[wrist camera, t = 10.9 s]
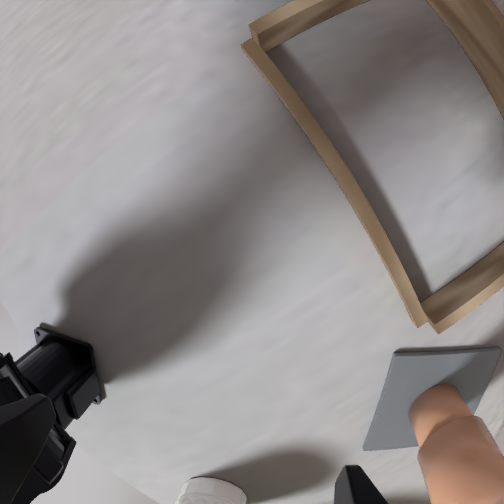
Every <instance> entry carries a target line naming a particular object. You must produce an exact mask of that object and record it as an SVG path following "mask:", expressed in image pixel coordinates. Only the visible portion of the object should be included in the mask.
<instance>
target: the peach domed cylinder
mask: <svg viewBox="0 0 504 504" xmlns="http://www.w3.org/2000/svg"><path fill="white" fill-rule="evenodd" d="M408 416H409V420H410V423H411V425H412V428H413V431H414V433H415V436H416V439H417V442H418V445H419V447H420V450H419V452H418V462H419V465H420V468H421V471H422V474H423V477H424V481H425V484H426V487H427V491H428V494H429V498H430V501H431V504H504V456H503V454H502V453H501V451H500V449H499V447H498V445H497V444H496V442H495V440H494V438H493V437H492V435H491V433H490V431H489V430H488V428H487V426H486V425H485V423H484V421H483V420H482V419H481V418H480V417H478V416H474V415H473V414H472V412H471V410H470V409H469V407H468V405H467V404H466V402H465V400H464V399H463V397H462V395H461V394H460V392H459V391H458V389H457V388H456V387H455V386H454V385H451V384H439V385H436V386H433V387H431V388H429V389H427V390H426V391H424V392H423V393H422V394H420V395H419V396H418V397H417V398H416V399H415V401H414V402H413V403H412V405H411V407H410V409H409V414H408Z"/></svg>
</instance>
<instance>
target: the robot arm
mask: <svg viewBox="0 0 504 504" xmlns="http://www.w3.org/2000/svg"><path fill="white" fill-rule="evenodd" d="M34 333H35V338H36V342H37V345H36V346H35V347H33V348H32V349H31V350H29V351H28V352H27V353H26V354H24V355H23V356H22V357H21V358H19V359H18V360H17V361H16V362H14V361H13V357H12V356H11V354H10V353H7V354H5V355H4V356H3V354H1V353H0V504H30V503H31V502H32V501H33V500H34V498H36V497H37V496H38V495H39V494H41V493H45V492H47V491H49V490H50V489H52V488H53V487H54V486H55V485H56V484H57V483H58V482H59V481H60V479H61V478H62V476H63V474H64V471H65V469H66V467H67V464H68V461H69V459H70V457H71V454H72V452H73V449H74V447H75V445H76V441H75V440H74V439H73V438H72V437H70V436H69V434H68V433H67V432H66V431H65V429H66V428H67V426H68V425H69V424H70V423H71V422H72V420H73V419H76V420H77V419H79V418H80V417H81V416H82V414H83V413H84V412H85V411H86V409H87V408H88V407H89V406H90V404H91V403H94V404H100V403H101V401H102V397H101V393H100V387H99V382H98V376H97V371H96V367H95V361H94V355H93V349H92V347H91V345H89V344H88V343H86V342H82V341H79V340H76V339H73V338H70V337H67V336H64V335H61V334H58V333H55V332H53V331H50V330H47V329H44V328H41V327H37V328H36V329H35V330H34ZM86 349H87V350H86ZM334 504H388V503H387V501H386V500H385V499H384V497H383V496H382V495H381V493H380V492H379V491H378V489H377V488H376V487H375V486H374V484H373V483H372V482H371V480H370V479H369V478H368V476H367V475H366V474H365V472H364V471H363V469H362V468H361V467H360V466H359V465H345V466H344V467H343V469H342V471H341V472H340V474H339V476H338V478H337V480H336V483H335V494H334Z"/></svg>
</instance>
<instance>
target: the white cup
mask: <svg viewBox="0 0 504 504" xmlns="http://www.w3.org/2000/svg"><path fill="white" fill-rule="evenodd" d="M246 499H247V496H246V495H245V494H244V492H243V491H242V489H240V488H238V487H237V486H235V485H233V484H232V483H229V482H226V481H223V480H219V479H216V478H206V477H199V478H193V479H190V480H188V481H187V482H186V483H185V484H184V485H183V487H182V490H181V492H180V495H179V497H178V500H177V501H176V503H175V504H246Z"/></svg>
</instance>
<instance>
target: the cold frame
mask: <svg viewBox="0 0 504 504" xmlns="http://www.w3.org/2000/svg"><path fill="white" fill-rule="evenodd" d="M234 1H236V2H237V1H239V0H234ZM366 1H369V0H294V1H292V2H290V3H288V4H286V5H284V6H282V7H280V8H278V9H276V10H274V11H272V12H270V13H268V14H267V15H265V16H263V17H261V18H259V19H258V20H256V21H254V22H252V23H251V24H249V25H248V26H249V29H250V32H251V35H252V38H251V39H249V40H248V41H246V42H244V43H243V44H241V47H242V49H243V52H244V53H245V54H246V55H247V57H248V58H249V59H250V60H251V62H252V63H253V64H254V65H255V67H256V68H257V69H258V70H259V72H260V73H261V74H262V75H263V77H264V78H265V79H266V81H267V82H268V83H269V84H270V86H271V87H272V88H273V90H274V91H275V92H276V94H277V95H278V96H279V98H280V99H281V100H282V102H283V103H284V105H285V106H286V107H287V109H288V110H289V111H290V113H291V114H292V116H293V117H294V118H295V120H296V121H297V123H298V124H299V125H300V127H301V128H302V130H303V131H304V133H305V134H306V136H307V137H308V138H309V140H310V141H311V143H312V144H313V146H314V147H315V149H316V150H317V152H318V153H319V155H320V156H321V158H322V159H323V161H324V162H325V164H326V166H327V167H328V169H329V170H330V172H331V173H332V175H333V177H334V178H335V180H336V181H337V183H338V185H339V186H340V188H341V189H342V191H343V193H344V194H345V196H346V198H347V199H348V201H349V203H350V204H351V206H352V208H353V209H354V211H355V213H356V214H357V216H358V218H359V220H360V221H361V223H362V225H363V226H364V228H365V230H366V232H367V234H368V235H369V237H370V239H371V241H372V242H373V244H374V246H375V248H376V250H377V252H378V253H379V255H380V257H381V259H382V261H383V263H384V265H385V267H386V269H387V270H388V272H389V274H390V276H391V278H392V280H393V282H394V284H395V286H396V288H397V290H398V292H399V294H400V296H401V298H402V300H403V302H404V304H405V307H406V309H407V311H408V313H409V315H410V317H411V319H412V321H413V322H414V324H415V325H416V326H417V328H419V327H420V326H422V325H423V324H425V323H426V322H429V323H430V325H431V326H432V327H433V328H434V330H435V331H436V332H437V333H438V334H440V333H441V332H443V331H444V330H446V329H447V328H449V327H450V326H452V325H453V324H454V323H456V322H457V321H459V320H460V319H462V318H463V317H464V316H466V315H467V314H468V313H470V312H471V311H473V310H474V309H475V308H477V307H478V306H479V305H481V304H482V303H483V302H484V301H486V300H487V299H488V298H490V297H491V296H492V295H493V294H495V293H496V292H497V291H498V290H500V289H501V288H502V287H503V286H504V242H503V243H502V244H500V245H499V246H498V247H497V248H495V249H494V250H493V251H492V252H490V253H489V254H488V255H487V256H485V257H484V258H483V259H481V260H480V261H479V262H478V263H476V264H475V265H474V266H472V267H471V268H470V269H468V270H467V271H466V272H464V273H463V274H461V275H460V276H459V277H457V278H456V279H455V280H453V281H452V282H450V283H449V284H448V285H446V286H445V287H443V288H442V289H440V290H439V291H437V292H436V293H434V294H433V295H432V296H430V297H429V298H427V299H426V300H424V301H423V302H421V303H420V302H419V300H418V298H417V296H416V293H415V291H414V289H413V287H412V285H411V283H410V280H409V278H408V276H407V274H406V272H405V270H404V268H403V266H402V264H401V262H400V260H399V258H398V256H397V254H396V252H395V250H394V248H393V246H392V244H391V242H390V241H389V239H388V237H387V235H386V233H385V231H384V229H383V227H382V226H381V224H380V222H379V220H378V218H377V217H376V215H375V213H374V211H373V209H372V208H371V206H370V204H369V202H368V201H367V199H366V197H365V196H364V194H363V192H362V190H361V189H360V187H359V185H358V184H357V182H356V180H355V179H354V177H353V176H352V174H351V172H350V171H349V169H348V167H347V166H346V164H345V163H344V161H343V160H342V158H341V156H340V155H339V153H338V152H337V150H336V149H335V147H334V146H333V144H332V143H331V141H330V140H329V138H328V137H327V135H326V134H325V132H324V131H323V129H322V128H321V126H320V125H319V123H318V122H317V121H316V119H315V118H314V116H313V115H312V113H311V112H310V111H309V109H308V108H307V106H306V105H305V104H304V102H303V101H302V100H301V98H300V97H299V95H298V94H297V93H296V91H295V90H294V89H293V87H292V86H291V85H290V84H289V82H288V81H287V80H286V78H285V77H284V76H283V74H282V73H281V72H280V71H279V69H278V68H277V67H276V66H275V64H274V63H273V62H272V61H271V59H270V58H269V57H268V56H267V54H266V53H265V52H267V51H269V50H270V49H272V48H274V47H276V46H277V45H279V44H281V43H283V42H284V41H286V40H288V39H290V38H292V37H293V36H295V35H297V34H299V33H301V32H303V31H305V30H306V29H308V28H310V27H312V26H314V25H316V24H318V23H320V22H322V21H324V20H326V19H328V18H331V17H333V16H335V15H337V14H339V13H341V12H343V11H346V10H348V9H350V8H352V7H355V6H357V5H359V4H362V3H364V2H366ZM426 1H427V2H428V3H429V4H430V5H431V7H432V8H433V9H434V10H435V12H436V13H437V14H438V15H439V17H440V18H441V19H442V20H443V22H444V23H445V24H446V26H447V27H448V28H449V30H450V31H451V32H452V34H453V35H454V36H455V38H456V39H457V41H458V42H459V44H460V45H461V46H462V48H463V49H464V51H465V52H466V54H467V55H468V57H469V58H470V60H471V62H472V63H473V65H474V66H475V68H476V70H477V71H478V73H479V75H480V76H481V78H482V80H483V81H484V83H485V85H486V87H487V88H488V90H489V92H490V94H491V96H492V97H493V99H494V101H495V103H496V105H497V107H498V109H499V111H500V113H501V115H502V117H503V119H504V17H503V15H502V14H501V12H500V11H499V10H498V8H497V7H496V6H495V4H494V3H493V2H492V0H426Z"/></svg>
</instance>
